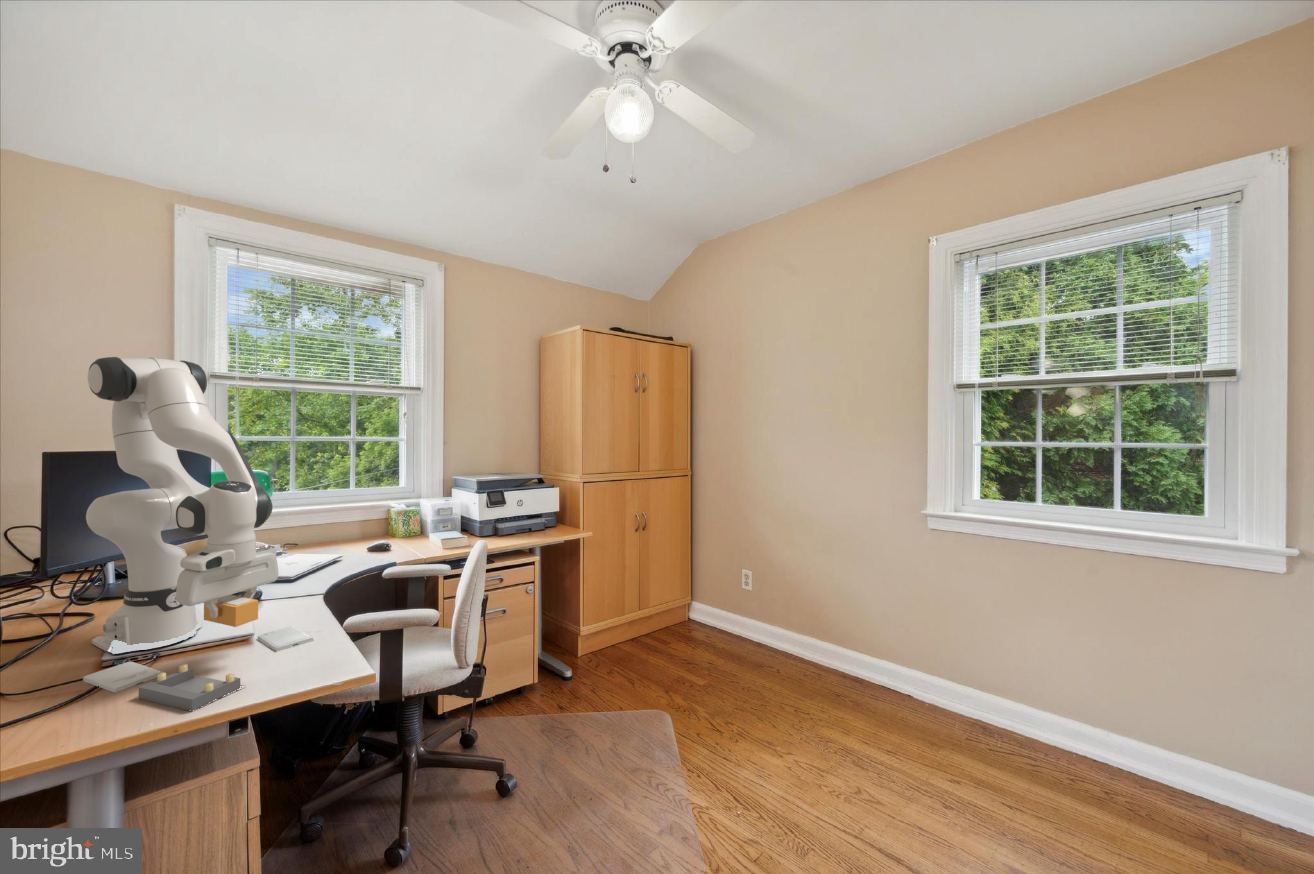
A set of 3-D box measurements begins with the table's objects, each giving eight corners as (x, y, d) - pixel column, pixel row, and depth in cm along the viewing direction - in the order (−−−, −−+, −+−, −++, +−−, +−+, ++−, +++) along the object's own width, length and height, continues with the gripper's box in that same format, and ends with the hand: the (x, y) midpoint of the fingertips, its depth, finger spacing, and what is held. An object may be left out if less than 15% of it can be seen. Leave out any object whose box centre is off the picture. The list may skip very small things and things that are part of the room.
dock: (138, 698, 108) (138, 681, 108) (194, 676, 118) (193, 660, 118) (192, 711, 104) (192, 693, 104) (245, 687, 113) (245, 670, 113)
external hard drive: (131, 667, 123) (163, 677, 118) (83, 683, 115) (114, 695, 111) (131, 660, 123) (163, 670, 118) (82, 676, 115) (114, 687, 111)
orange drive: (203, 619, 122) (203, 599, 122) (226, 612, 127) (227, 593, 127) (235, 627, 119) (235, 606, 119) (257, 619, 124) (258, 599, 124)
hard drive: (257, 635, 138) (276, 647, 130) (293, 625, 144) (313, 636, 137) (257, 641, 138) (276, 654, 130) (293, 631, 144) (313, 643, 137)
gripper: (266, 541, 133) (265, 595, 134) (171, 562, 114) (170, 625, 114) (285, 544, 132) (284, 599, 132) (192, 566, 112) (191, 630, 113)
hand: (230, 611), depth 123 cm, fingers closed on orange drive, 5 cm apart
